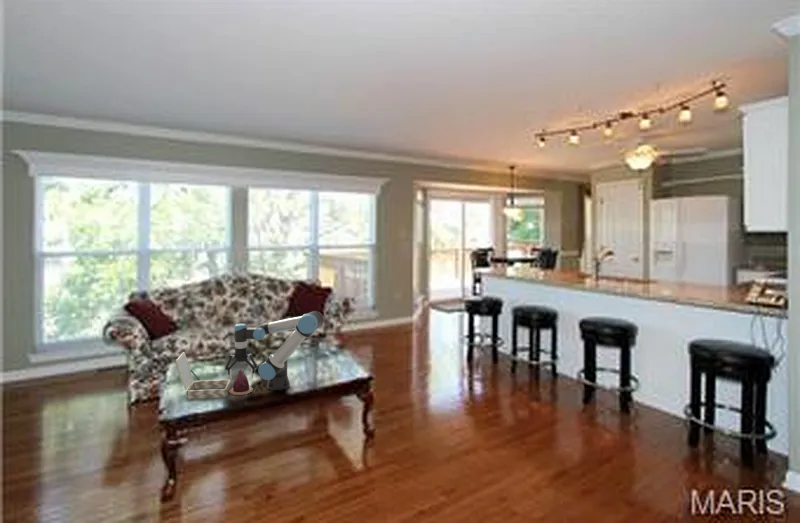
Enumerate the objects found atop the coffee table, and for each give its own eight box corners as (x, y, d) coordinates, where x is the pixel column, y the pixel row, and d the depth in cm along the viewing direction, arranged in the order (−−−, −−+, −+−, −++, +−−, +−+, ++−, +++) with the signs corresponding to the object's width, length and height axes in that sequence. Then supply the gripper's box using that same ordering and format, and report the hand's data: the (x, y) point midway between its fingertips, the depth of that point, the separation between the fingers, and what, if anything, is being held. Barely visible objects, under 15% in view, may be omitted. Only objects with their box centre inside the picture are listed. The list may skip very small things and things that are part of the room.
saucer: (253, 387, 339) (253, 385, 339) (251, 394, 325) (251, 393, 325) (230, 387, 337) (230, 386, 336) (227, 395, 322) (227, 394, 322)
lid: (184, 351, 331) (183, 352, 331) (177, 360, 312) (175, 360, 312) (193, 379, 334) (191, 380, 334) (186, 389, 314) (185, 390, 314)
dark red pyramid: (233, 392, 333) (230, 370, 335) (249, 389, 337) (246, 367, 339) (233, 394, 324) (230, 371, 325) (250, 390, 327) (246, 367, 329)
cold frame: (230, 386, 339) (230, 368, 338) (226, 397, 319) (226, 377, 318) (190, 388, 334) (190, 369, 333) (183, 398, 314) (183, 379, 313)
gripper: (260, 345, 334) (261, 376, 336) (221, 346, 330) (222, 378, 331) (260, 347, 327) (260, 379, 329) (220, 349, 322) (220, 381, 324)
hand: (241, 378), depth 330 cm, fingers open, 13 cm apart
